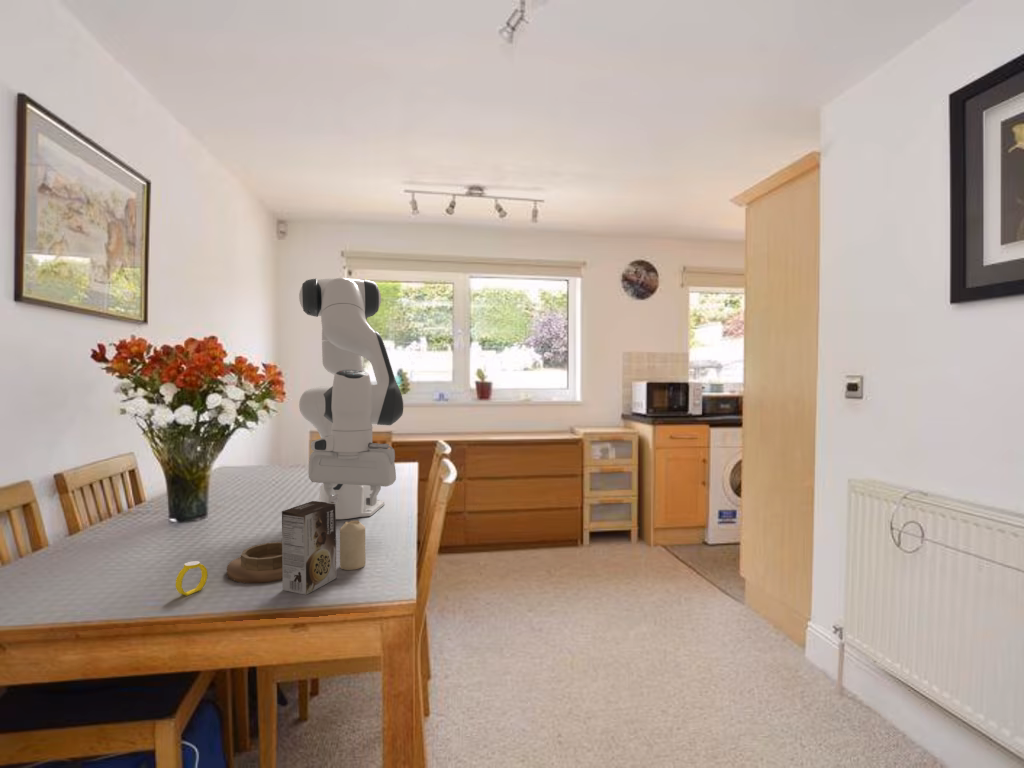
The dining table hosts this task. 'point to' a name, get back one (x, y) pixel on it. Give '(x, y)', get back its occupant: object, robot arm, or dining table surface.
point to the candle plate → (252, 575)
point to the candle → (352, 545)
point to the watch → (181, 574)
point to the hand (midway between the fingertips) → (352, 503)
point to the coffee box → (308, 546)
